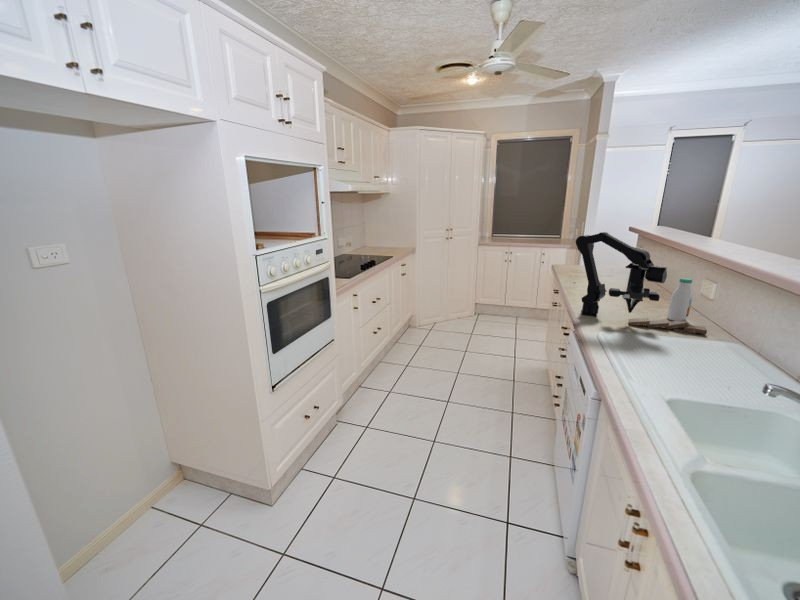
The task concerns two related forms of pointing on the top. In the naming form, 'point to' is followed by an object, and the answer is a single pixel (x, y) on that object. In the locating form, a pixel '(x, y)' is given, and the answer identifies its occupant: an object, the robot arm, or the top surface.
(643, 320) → the domino
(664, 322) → the domino
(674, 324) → the domino
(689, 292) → the milk bottle
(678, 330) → the domino
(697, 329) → the domino
